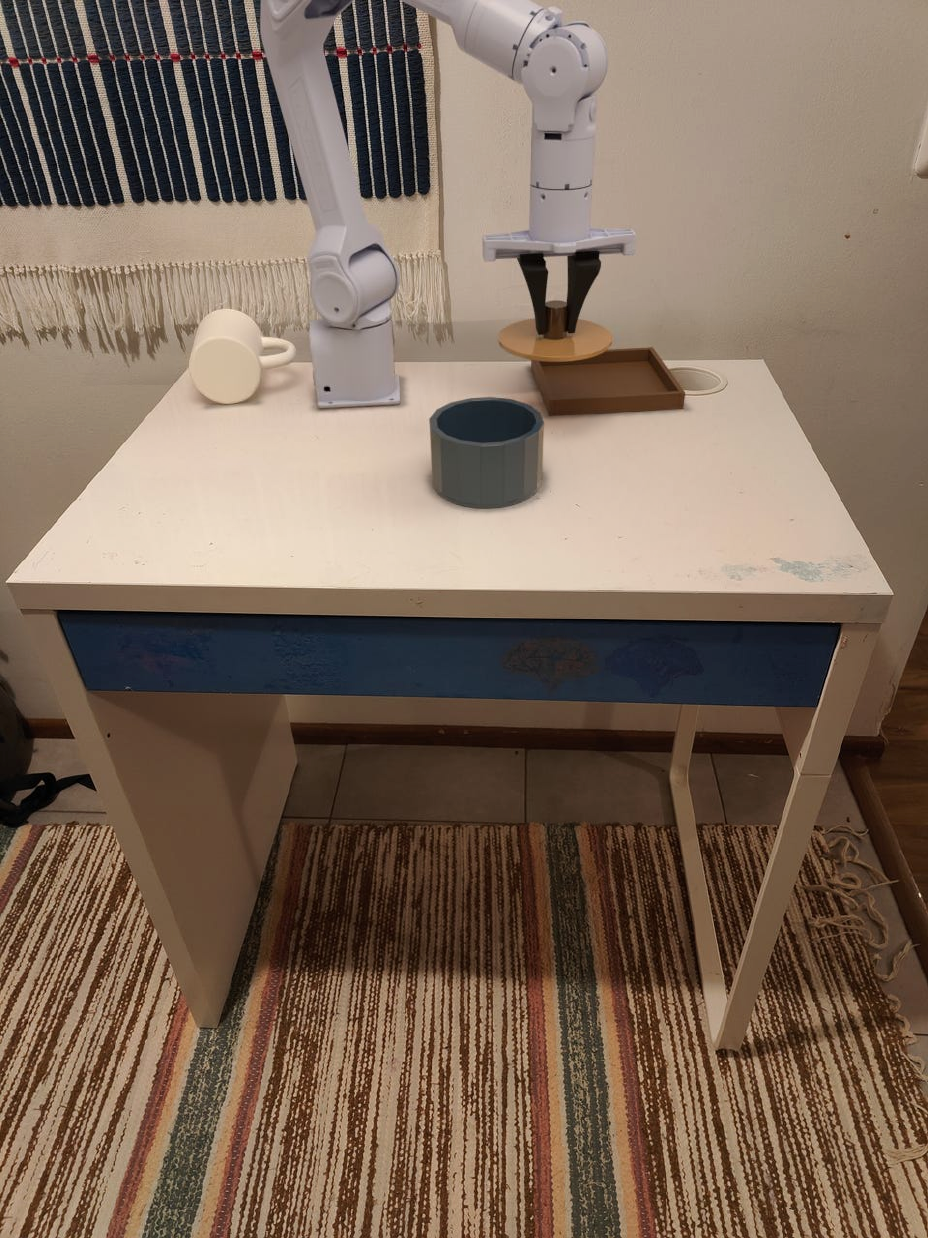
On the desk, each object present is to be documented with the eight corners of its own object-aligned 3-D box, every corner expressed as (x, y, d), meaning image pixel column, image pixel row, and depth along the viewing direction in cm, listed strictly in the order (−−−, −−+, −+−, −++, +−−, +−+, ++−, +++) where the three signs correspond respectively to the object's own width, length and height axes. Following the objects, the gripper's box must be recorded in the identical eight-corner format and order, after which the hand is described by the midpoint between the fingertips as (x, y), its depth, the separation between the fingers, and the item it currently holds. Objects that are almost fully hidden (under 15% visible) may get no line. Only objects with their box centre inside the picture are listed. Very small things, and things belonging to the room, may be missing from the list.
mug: (196, 407, 100) (181, 339, 95) (203, 374, 108) (190, 310, 103) (300, 398, 101) (291, 331, 96) (300, 367, 109) (291, 303, 104)
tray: (549, 416, 96) (549, 400, 95) (530, 368, 107) (531, 353, 106) (683, 408, 96) (685, 392, 95) (651, 361, 108) (653, 346, 107)
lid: (504, 370, 84) (505, 326, 81) (492, 329, 93) (492, 288, 90) (622, 364, 84) (626, 320, 81) (599, 324, 93) (602, 283, 91)
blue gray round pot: (435, 511, 80) (432, 448, 76) (430, 459, 88) (427, 399, 84) (548, 504, 80) (551, 442, 76) (532, 453, 89) (534, 394, 85)
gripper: (486, 196, 76) (487, 348, 84) (649, 189, 76) (634, 340, 85) (479, 179, 81) (481, 323, 90) (631, 173, 82) (618, 317, 90)
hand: (554, 330), depth 87 cm, fingers closed on lid, 2 cm apart
